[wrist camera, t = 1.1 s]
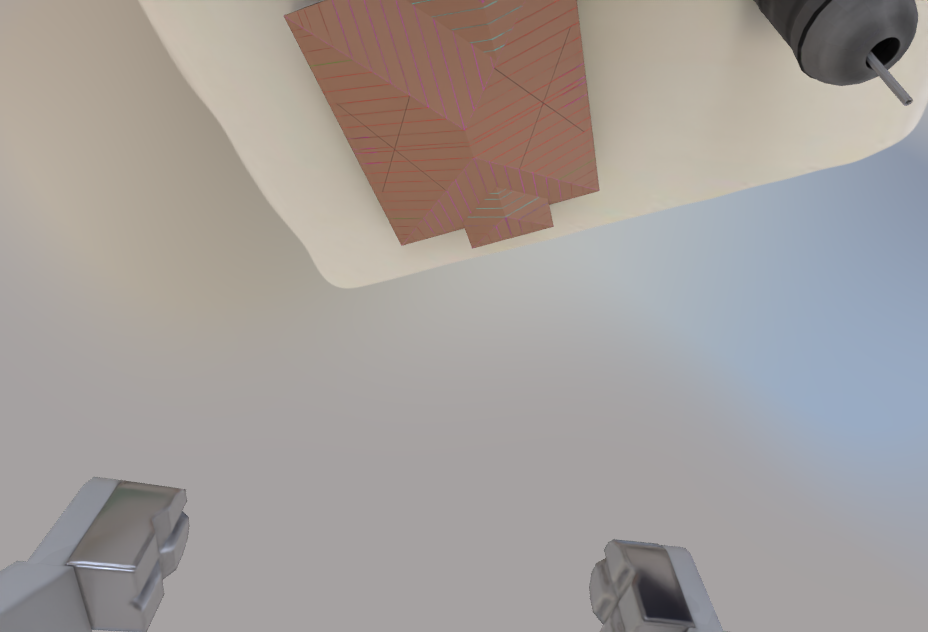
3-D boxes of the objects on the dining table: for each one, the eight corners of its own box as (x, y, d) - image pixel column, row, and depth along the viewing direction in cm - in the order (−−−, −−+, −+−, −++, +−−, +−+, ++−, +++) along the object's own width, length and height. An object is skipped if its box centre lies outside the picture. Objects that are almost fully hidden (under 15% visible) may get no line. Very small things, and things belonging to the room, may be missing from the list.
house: (409, 244, 66) (410, 291, 60) (259, -60, 42) (237, -26, 36) (594, 192, 62) (612, 238, 57) (548, -175, 38) (571, -156, 32)
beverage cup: (842, -53, 45) (1025, 47, 32) (777, 34, 50) (911, 150, 37) (778, -89, 43) (945, 2, 29) (716, 6, 48) (835, 119, 34)
